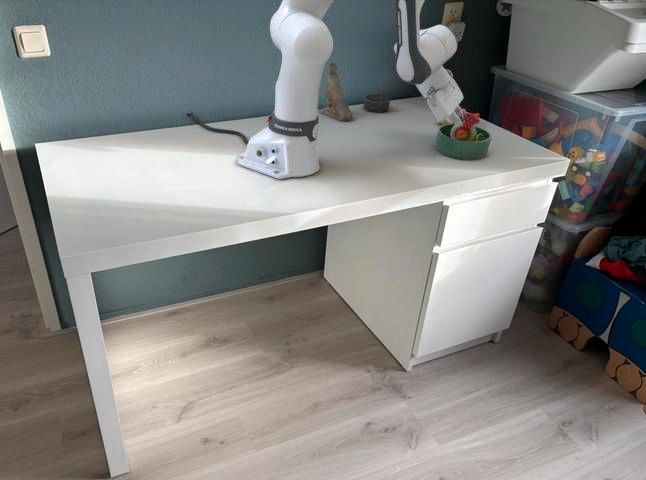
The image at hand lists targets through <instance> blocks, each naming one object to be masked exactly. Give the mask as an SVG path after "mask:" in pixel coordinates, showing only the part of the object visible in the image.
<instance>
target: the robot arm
mask: <svg viewBox="0 0 646 480" xmlns="http://www.w3.org/2000/svg"><path fill="white" fill-rule="evenodd" d="M425 1H426V0H394V18H395V35H396V36H395V39H396V42H395V43H394V46H393V50H394V53H395V58H394V67H395V72H396V74H397V76H398V77H399V79H400V80H401V81H403V82H405V83H406V84H409V85H415V87H416V89H417V90H418V91H419V92H420V94H421V96H423V98H424V99H426V104H427V106H428V108H429V109H430V111H431V112H432V114H433V116H434V118H435V119H436V121H437V120H438V121H439V122H443V121H444V120H446V119H447V118H448V119H449V120H450V121H452V122H453V124H455V125H456V127H459V126H461V125H462V123H463V122H462V121H465V119H464V116H463V113H462V110H461V109H462V108H461V106H460V104H461V102H462V101H463V100H464V95H463V92H462V91H461V88H460V87H459V85H458V83H457V82H456V80H455V79H454V78H453V76H454V75H453V72H452V71H451V70H450V69H446V68H444V64H445V63H446V62H447V61H449V60H450V59H451V58H452V57H454V55H455V53H456V52H457V50H458V43H459V42H458V38H457V36H456V33H455V32H454V31H453V29H451V28H450V27H449V26H448V25H445V24H441V23H439V24H436V25H434V26H431V27H429V28H425V29H421V27H420V15H421V10H422V8H423V4H424V3H425ZM334 2H335V0H282V1H281V3H280V6H279V8H278V9H277V11H276V12H275V13H274V14H273V15H272V17H271V19H270V22H269V32H270V33H269V34H270V37H271V40H272V43H273V44H274V46H275V47H276V48H277V49H278V50H279V51H280V52H281V64H280V70H279V75H278V79H277V80H276V82H275V85H274V86H275V87H274V91H275V92H274V110H273V111H272V113H270V114H268V116H267V117H266V118H265V123H268V125H267V126H266V127H264V128H263V129H261V130H260V131H258V132H257V133H255V134H254V135H253V136H251V138H250V139H249V140H247V138H246V136H245V134H243V133H242V132H240V131H239V130H238V131H237V130H233V129H224V128H217V127H212V126H209V125H207V124H205V123H204V122H202V121H201V120H199V119H198V118H197V117H196V115H195V114H194V113H193V112H192V111H191V113H190V114H189V113H188V112H187V113H186V116H190V115H191V117H192V119H193V120H194V121H195V122H196V123H197V124H199V125H200V126H202V127H203V128H204V129H207V130H209V131H212V132H218V133H225V134H226V133H228V134H234V135H237V136H240V137H241V138H242V140H243V142H244V143H245V144H246V150H245V151H243V152H242V153H241V154H240V155H239V156H238V158H237V165H238V166H241V167H243V168H246V169H250V170H253V171H255V172H258V173H260V174H264V175H266V176H269V177H271V178H275V179H279V180H284V179H288V178H302V177H308V176H310V175H311V176H312V175H314V174H316V173H317V172H318V171H319V170H320V168H321V165H320V162H319V156H318V155H319V154H318V146H317V145H318V144H317V143H318V142H317V139H318V135H319V126H320V125H319V121H320V120H319V118H320V117H319V115H318V111H319V110H318V109H319V99H320V98H319V97H320V86H321V82H322V78H323V74H324V70H325V67H326V64H327V62H328V60H329V59H330V58H331V55H332V53H333V49H334V40H333V39H334V38H333V36H332V34H331V31H330V29H329V28H328V26H327V25H326V24H325V22H324V21H323V18H324V17H325V15H326V13H327V12H328V10H329V8H330V7H331V6H332V4H333V3H334Z"/></svg>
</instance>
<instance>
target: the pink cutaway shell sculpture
mask: <svg viewBox="0 0 646 480" xmlns="http://www.w3.org/2000/svg"><path fill="white" fill-rule="evenodd" d="M461 110H462V113H463V114H464V113H467V111H466V109H465V108H461ZM436 122H437V123H438V124H441V125H445V124H454V123H453V122H452V121H450V120H449V119H448V118H447V119H446V120H444V121H443V122H439V121H438V120H437V119H436Z"/></svg>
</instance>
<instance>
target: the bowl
mask: <svg viewBox="0 0 646 480" xmlns="http://www.w3.org/2000/svg"><path fill="white" fill-rule="evenodd" d="M454 125H455V124H454V123H453V124H447V123H446V124H445V125H443V124H441V125H440V126H439V127H438V128H437V131H436V135H435V141H434V147H435V149H436V150H437V151H438V153H440V154H442V155H444V156H445V157H449V158H451V159H455V160H462V161H463V160H465V161H472V160H480V159H482V158H484V157H485V156H487V154H488V153H489V150H490V145H491V141H492V138H493V137H492V133H491V132H490V131H488V130H487V129H485V128H482V127H480V126H477V125H474V127H475V129H476V135H478V134H482V135H483V137H479V140H478V141H476V142H470V141H461V140H456V139H453V138H451V135H450V134H451V130H452V128H453V126H454ZM461 128H463V127H461ZM465 129H466V128H465ZM467 131H468V137H469V135H470V134H471V132H469V131H470V130H468V129H467ZM468 137H467V138H468ZM467 138H466V139H465V140H467Z"/></svg>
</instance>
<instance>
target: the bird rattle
mask: <svg viewBox="0 0 646 480" xmlns="http://www.w3.org/2000/svg"><path fill="white" fill-rule="evenodd" d="M463 116H464V119H465V120H464V121H462V122H463V123H462V125H461V126H459V127H456V125H454V126H453V128H452V130H451V134H450V135H451V138H453V139H456V140H461V141H470V142H476V141H478V140H479V137H483V135H482V134H478V135H476V129H475V127H474V126H475V125H477V124H479V123H480V122H481V120H480V113H479V112H477V113H471V112H466V113H464V114H463ZM461 127H463V128H461ZM465 128H466V129H465ZM467 129H468V130H470V131H469V132H471V134H470V135H469V137H468V131H467ZM467 137H468V138H467ZM466 138H467V140H465V139H466Z"/></svg>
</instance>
